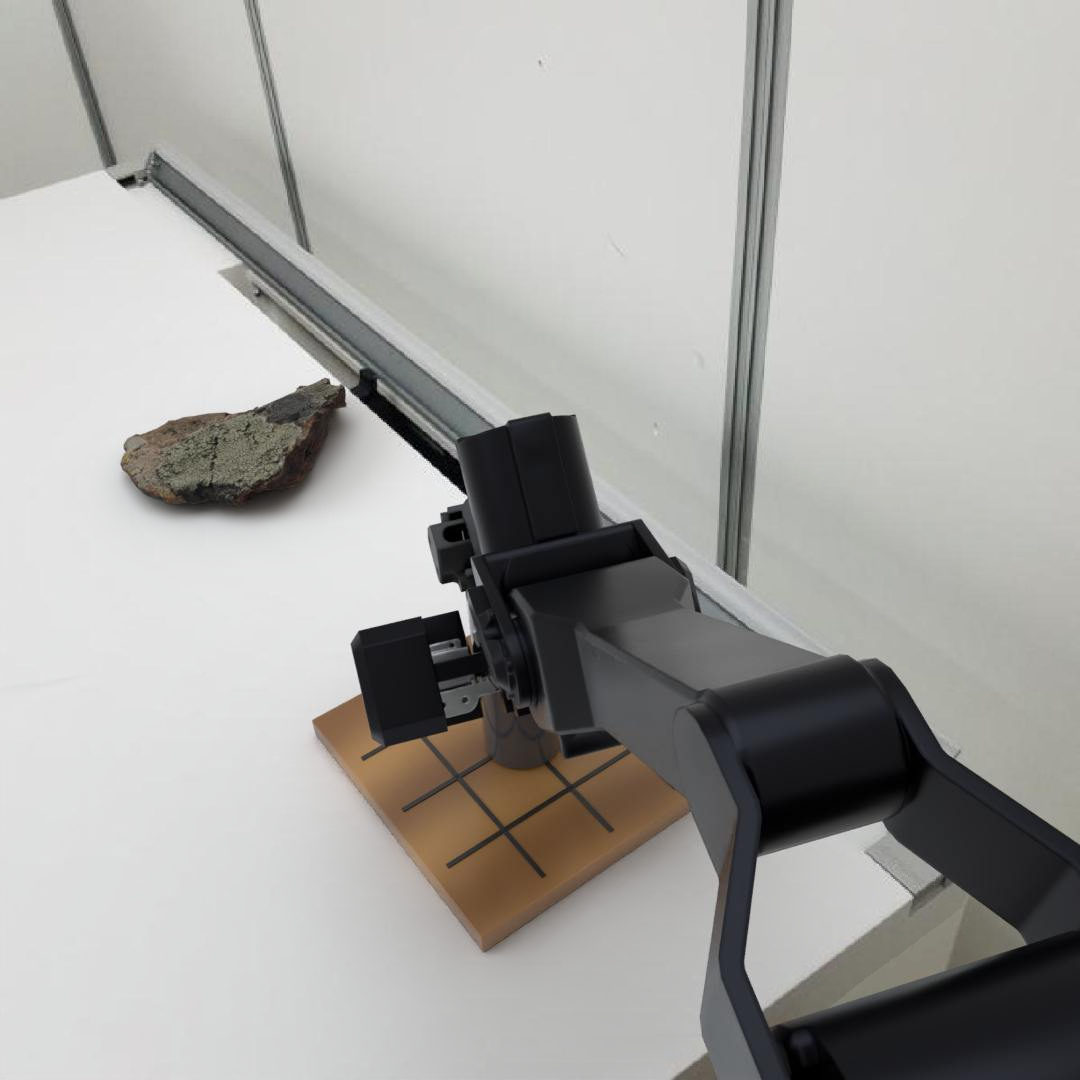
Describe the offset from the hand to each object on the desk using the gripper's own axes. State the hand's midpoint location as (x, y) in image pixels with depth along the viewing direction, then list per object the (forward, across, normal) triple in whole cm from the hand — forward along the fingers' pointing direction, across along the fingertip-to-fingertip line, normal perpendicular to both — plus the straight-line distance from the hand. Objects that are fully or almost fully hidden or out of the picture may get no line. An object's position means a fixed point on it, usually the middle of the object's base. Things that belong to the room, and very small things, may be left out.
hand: (510, 651), depth 70 cm
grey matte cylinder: (+4, 0, +6) cm, 7 cm away
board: (+5, 0, +7) cm, 8 cm away
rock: (+33, +15, -21) cm, 42 cm away
